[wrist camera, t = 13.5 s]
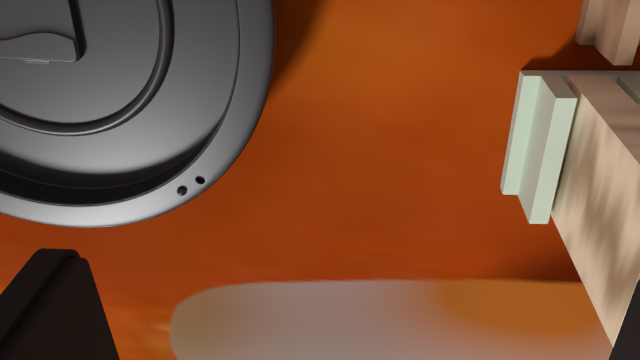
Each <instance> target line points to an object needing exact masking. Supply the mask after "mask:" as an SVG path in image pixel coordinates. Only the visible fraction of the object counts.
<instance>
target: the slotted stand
mask: <svg viewBox="0 0 640 360" xmlns="http://www.w3.org/2000/svg"><path fill="white" fill-rule="evenodd" d="M567 75H609V76H610V77H611V78H612V79H613V80H614V81H615V82H616V83H617V84H618V85H619V86H620V87H621V88H622V89H623V90H624V91H625V92H626V93H627V94H628V95H629V96H630V97H631V98H632V99H633V100H634V101H635V102H636V103H637V104H638V105H639V107H640V71H577V70H520V74H519V80H518V86H517V91H516V97H515V103H514V109H513V115H512V120H511V126H510V132H509V138H508V144H507V149H506V155H505V161H504V167H503V172H502V178H501V184H500V188H501V191H502V194H511V195H518V197H519V199H520V202H521V204H522V207H523V209H524V212H525V214H526V217H527V219H528V222H529V224H548V221H549V217H550V212H551V208H552V204H553V200H554V195H555V191H556V187H557V183H558V179H559V174H560V170H561V166H562V162H563V157H564V153H565V149H566V145H567V140H568V136H569V132H570V128H571V124H572V119H573V115H574V111H575V107H576V102H577V97H576V96H575V95H574V93H573V92H572V91H571V89H570V88H569V87H568V85H567V84H566V79H567Z"/></svg>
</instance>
